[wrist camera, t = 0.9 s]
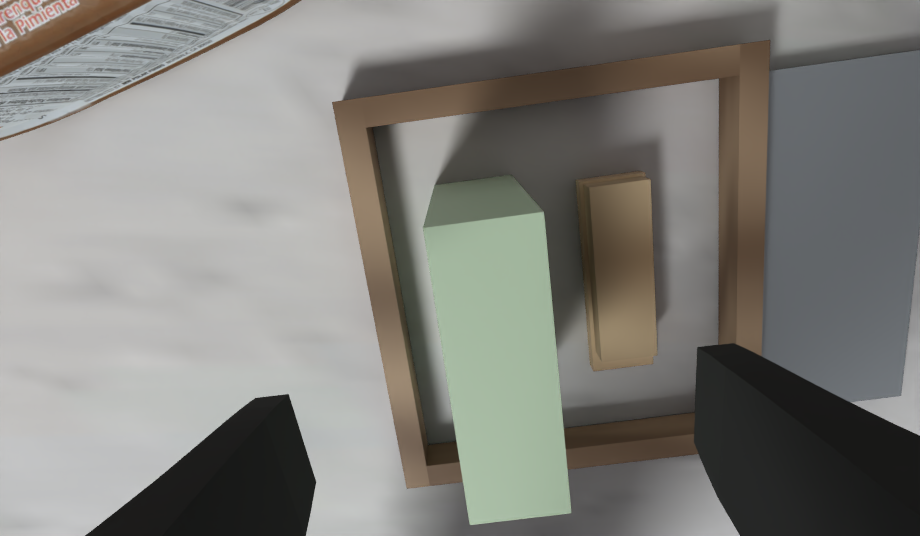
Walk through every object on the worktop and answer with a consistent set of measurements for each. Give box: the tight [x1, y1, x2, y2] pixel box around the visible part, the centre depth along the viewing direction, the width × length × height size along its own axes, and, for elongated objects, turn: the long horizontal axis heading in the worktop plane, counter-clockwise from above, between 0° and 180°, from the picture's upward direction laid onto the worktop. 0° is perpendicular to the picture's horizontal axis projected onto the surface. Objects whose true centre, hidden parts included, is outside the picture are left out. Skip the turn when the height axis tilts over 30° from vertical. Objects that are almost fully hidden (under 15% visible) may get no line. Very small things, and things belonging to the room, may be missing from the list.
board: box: [423, 175, 571, 525], centre depth 18 cm, size 9×3×8 cm, turn 8°
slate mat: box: [761, 50, 920, 402], centre depth 21 cm, size 14×6×1 cm, turn 8°
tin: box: [0, 0, 301, 141], centre depth 15 cm, size 15×3×8 cm, turn 113°
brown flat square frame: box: [332, 40, 770, 489], centre depth 21 cm, size 16×15×2 cm
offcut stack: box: [576, 171, 657, 371], centre depth 21 cm, size 8×2×2 cm, turn 8°
